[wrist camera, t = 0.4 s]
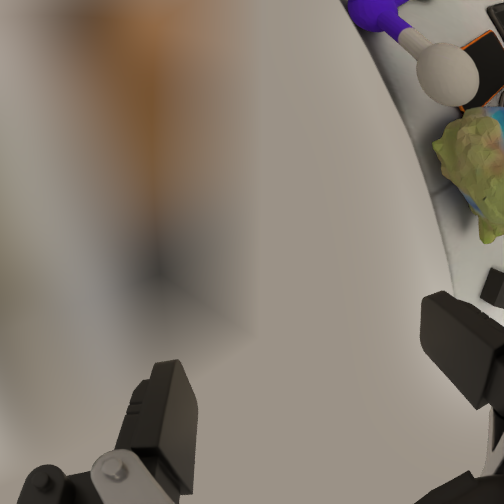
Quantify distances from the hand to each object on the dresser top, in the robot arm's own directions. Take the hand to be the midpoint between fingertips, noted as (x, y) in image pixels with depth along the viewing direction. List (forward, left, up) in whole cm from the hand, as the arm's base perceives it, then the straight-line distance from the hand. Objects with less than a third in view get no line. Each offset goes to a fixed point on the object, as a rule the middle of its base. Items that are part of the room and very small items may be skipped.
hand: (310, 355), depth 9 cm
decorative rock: (-15, +30, -15) cm, 37 cm away
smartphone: (-34, +27, -25) cm, 50 cm away
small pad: (-1, +36, -22) cm, 42 cm away
